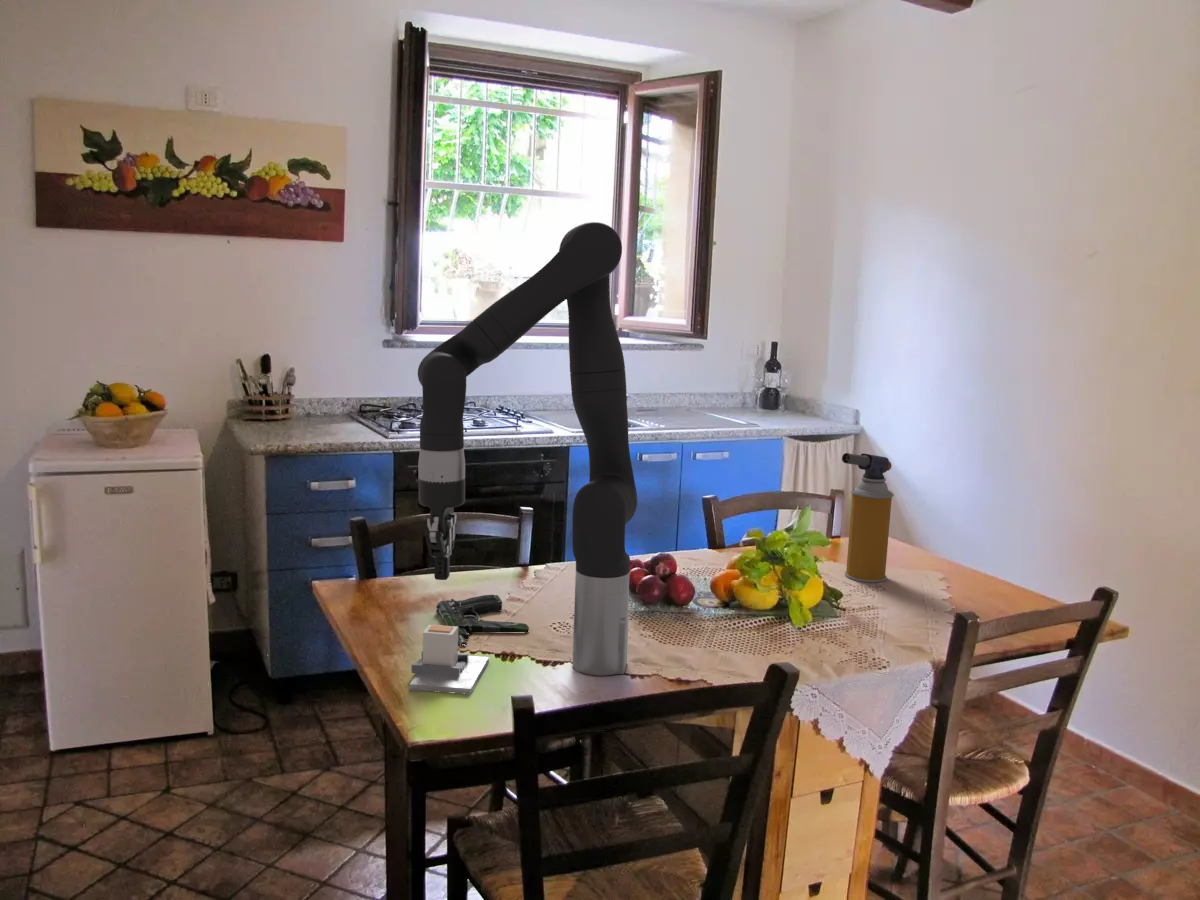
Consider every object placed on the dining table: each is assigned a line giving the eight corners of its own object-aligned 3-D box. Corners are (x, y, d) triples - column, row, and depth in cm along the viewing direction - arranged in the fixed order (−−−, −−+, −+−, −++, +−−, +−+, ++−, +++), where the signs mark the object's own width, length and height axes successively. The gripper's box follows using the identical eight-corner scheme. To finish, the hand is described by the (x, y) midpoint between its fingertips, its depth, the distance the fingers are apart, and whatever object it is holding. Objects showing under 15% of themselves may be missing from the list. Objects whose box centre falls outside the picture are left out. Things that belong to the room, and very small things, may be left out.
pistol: (535, 648, 192) (455, 653, 186) (504, 606, 211) (432, 610, 206) (536, 632, 191) (456, 636, 186) (506, 591, 211) (433, 594, 205)
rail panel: (488, 662, 179) (489, 649, 179) (470, 694, 165) (470, 680, 165) (426, 658, 180) (426, 644, 180) (403, 689, 166) (403, 675, 166)
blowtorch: (895, 578, 239) (906, 450, 234) (852, 589, 229) (863, 456, 224) (862, 568, 246) (872, 444, 241) (819, 579, 236) (828, 449, 231)
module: (457, 660, 175) (458, 625, 174) (452, 669, 171) (452, 633, 170) (429, 658, 176) (429, 623, 175) (422, 667, 172) (422, 631, 171)
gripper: (455, 484, 161) (455, 591, 164) (473, 469, 174) (473, 568, 177) (407, 482, 162) (408, 589, 165) (429, 467, 175) (430, 566, 178)
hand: (442, 578), depth 171 cm, fingers closed
